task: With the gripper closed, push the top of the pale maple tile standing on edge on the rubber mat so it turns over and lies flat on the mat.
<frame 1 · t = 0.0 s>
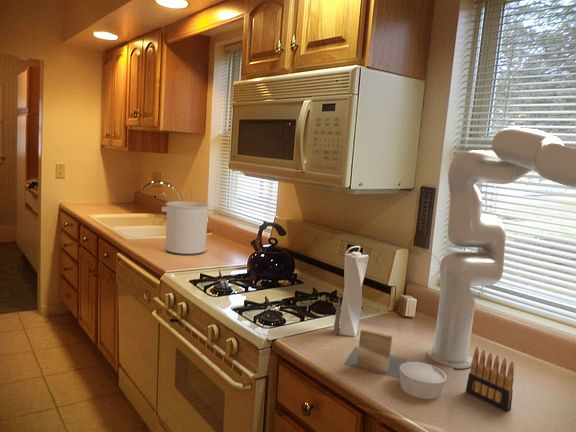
skyscraper: (347, 334, 150), on the worktop
mat: (375, 363, 131), on the worktop
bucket: (185, 251, 245), on the worktop
ammunition clip: (487, 401, 115), on the worktop
ramekin: (420, 392, 117), on the worktop
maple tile: (372, 368, 126), point 1 cm above the worktop, touching mat
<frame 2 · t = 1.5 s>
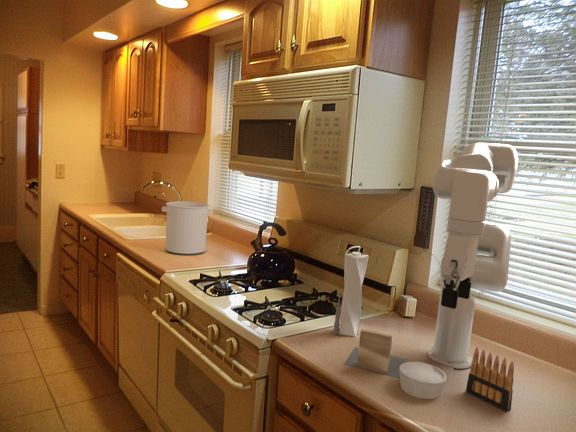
hand: (455, 302, 107), 26 cm above the worktop, tool pointing down, fingers open, 9 cm apart
nothing on the worktop moved.
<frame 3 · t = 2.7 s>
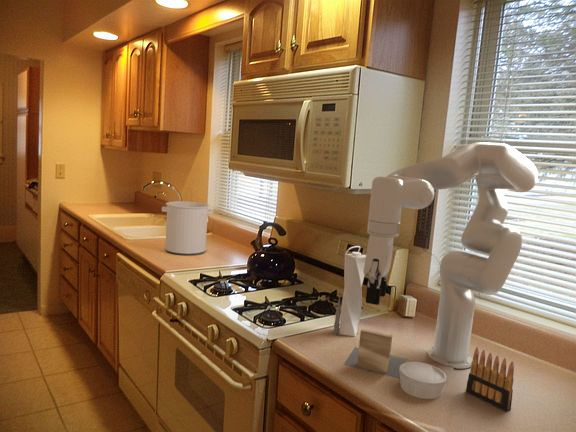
hand: (375, 298, 117), 22 cm above the worktop, tool pointing down, fingers open, 6 cm apart
nothing on the worktop moved.
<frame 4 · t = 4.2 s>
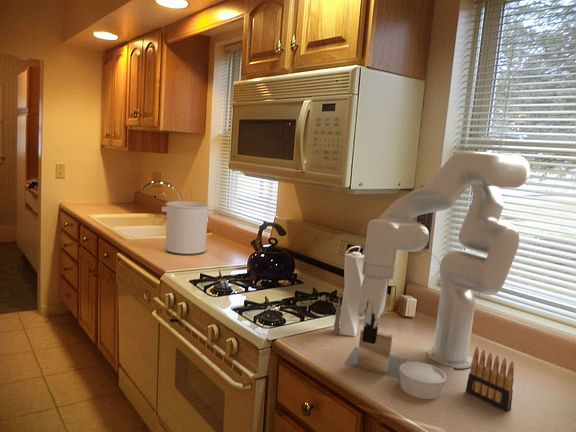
hand: (369, 341, 118), 11 cm above the worktop, tool pointing down, fingers closed
nothing on the worktop moved.
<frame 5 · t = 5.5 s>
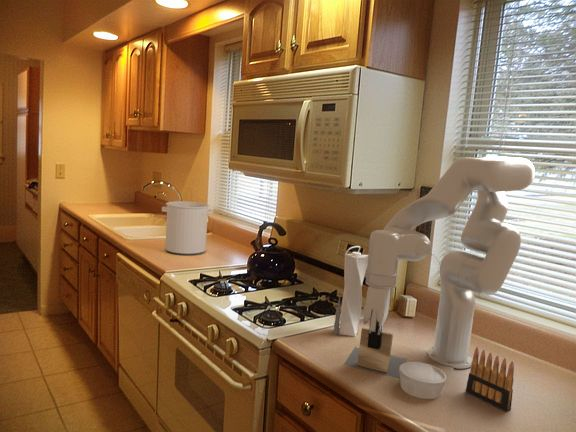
hand: (374, 347, 123), 7 cm above the worktop, tool pointing down, fingers closed
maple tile: (372, 367, 126), point 1 cm above the worktop, tilted 7°, touching gripper, mat
everything else where it was.
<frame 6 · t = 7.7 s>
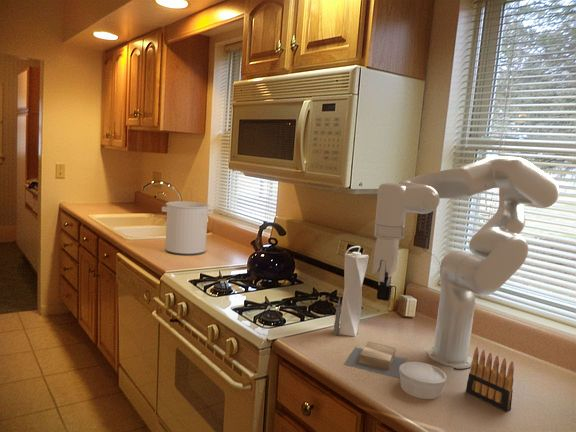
hand: (383, 299, 126), 19 cm above the worktop, tool pointing down, fingers closed
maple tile: (374, 361, 127), point 2 cm above the worktop, tilted 90°, touching mat
everything else where it was.
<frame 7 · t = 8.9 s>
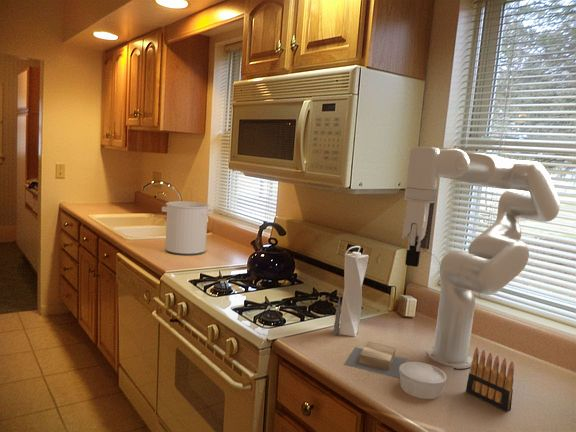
hand: (411, 265, 124), 29 cm above the worktop, tool pointing down, fingers closed
nothing on the worktop moved.
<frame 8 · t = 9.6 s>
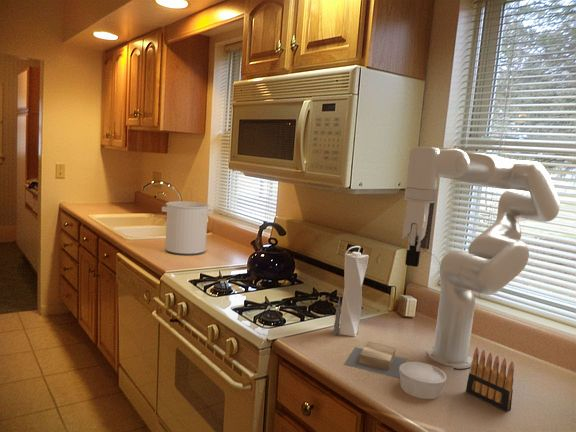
hand: (411, 265, 124), 29 cm above the worktop, tool pointing down, fingers closed
nothing on the worktop moved.
at the end: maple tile tilted 90°; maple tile touching mat; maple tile inside the target area (4.2 cm from its centre), point 1.8 cm above the worktop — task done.
